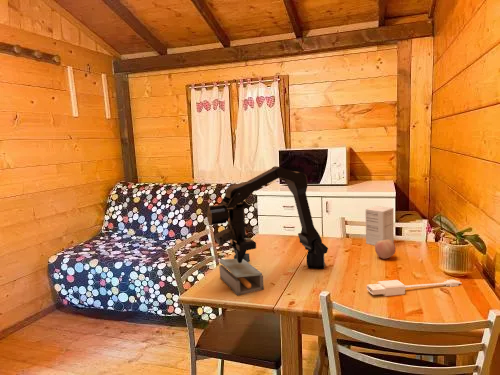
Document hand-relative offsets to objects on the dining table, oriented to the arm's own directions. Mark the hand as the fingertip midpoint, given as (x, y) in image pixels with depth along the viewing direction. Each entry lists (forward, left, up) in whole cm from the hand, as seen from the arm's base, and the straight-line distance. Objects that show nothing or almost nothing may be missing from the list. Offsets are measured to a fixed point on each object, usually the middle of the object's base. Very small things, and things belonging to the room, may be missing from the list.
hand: (239, 262), depth 131 cm
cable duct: (0, 0, -8) cm, 8 cm away
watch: (+7, -22, -8) cm, 25 cm away
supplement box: (-51, -55, -8) cm, 76 cm away
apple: (-52, -34, -8) cm, 63 cm away
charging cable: (-59, -4, -8) cm, 60 cm away
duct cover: (0, 0, -2) cm, 2 cm away
